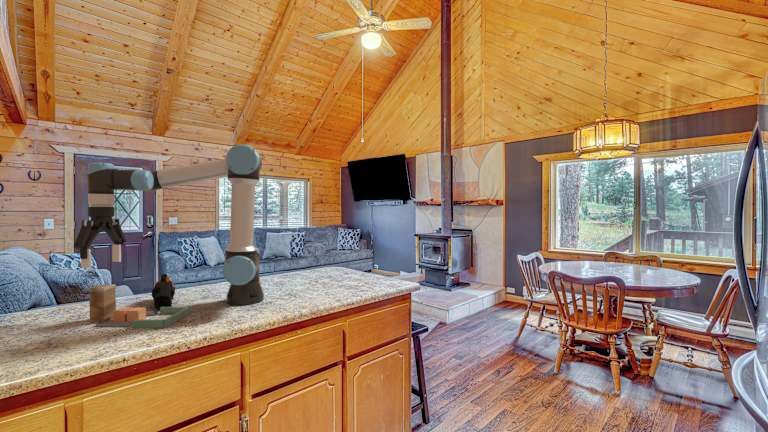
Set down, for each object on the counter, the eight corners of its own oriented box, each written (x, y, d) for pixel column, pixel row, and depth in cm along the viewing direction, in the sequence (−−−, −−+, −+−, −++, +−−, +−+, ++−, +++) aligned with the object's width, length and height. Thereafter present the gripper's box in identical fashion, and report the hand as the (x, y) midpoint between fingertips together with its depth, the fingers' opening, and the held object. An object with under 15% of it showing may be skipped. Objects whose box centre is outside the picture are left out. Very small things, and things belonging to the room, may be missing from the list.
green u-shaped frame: (190, 313, 135) (190, 306, 135) (165, 327, 119) (165, 320, 119) (161, 313, 135) (161, 306, 135) (132, 327, 119) (132, 320, 119)
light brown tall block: (116, 317, 130) (115, 284, 129) (104, 322, 124) (103, 288, 123) (102, 317, 130) (101, 284, 129) (89, 322, 124) (88, 287, 123)
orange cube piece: (146, 318, 129) (145, 307, 129) (138, 322, 125) (138, 310, 125) (135, 318, 129) (134, 307, 129) (127, 322, 125) (127, 310, 125)
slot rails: (157, 313, 134) (157, 311, 134) (131, 326, 120) (131, 323, 120) (125, 313, 134) (125, 311, 134) (95, 326, 120) (95, 323, 120)
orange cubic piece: (132, 318, 129) (132, 307, 129) (124, 322, 125) (124, 310, 125) (121, 318, 129) (121, 307, 129) (113, 321, 125) (112, 310, 125)
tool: (151, 328, 138) (148, 297, 132) (155, 294, 156) (153, 265, 151) (175, 325, 142) (174, 294, 136) (176, 292, 160) (175, 263, 155)
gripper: (117, 205, 139) (118, 259, 140) (58, 206, 115) (59, 271, 115) (136, 206, 139) (137, 259, 140) (81, 206, 114) (82, 271, 115)
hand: (102, 264), depth 128 cm, fingers open, 13 cm apart
